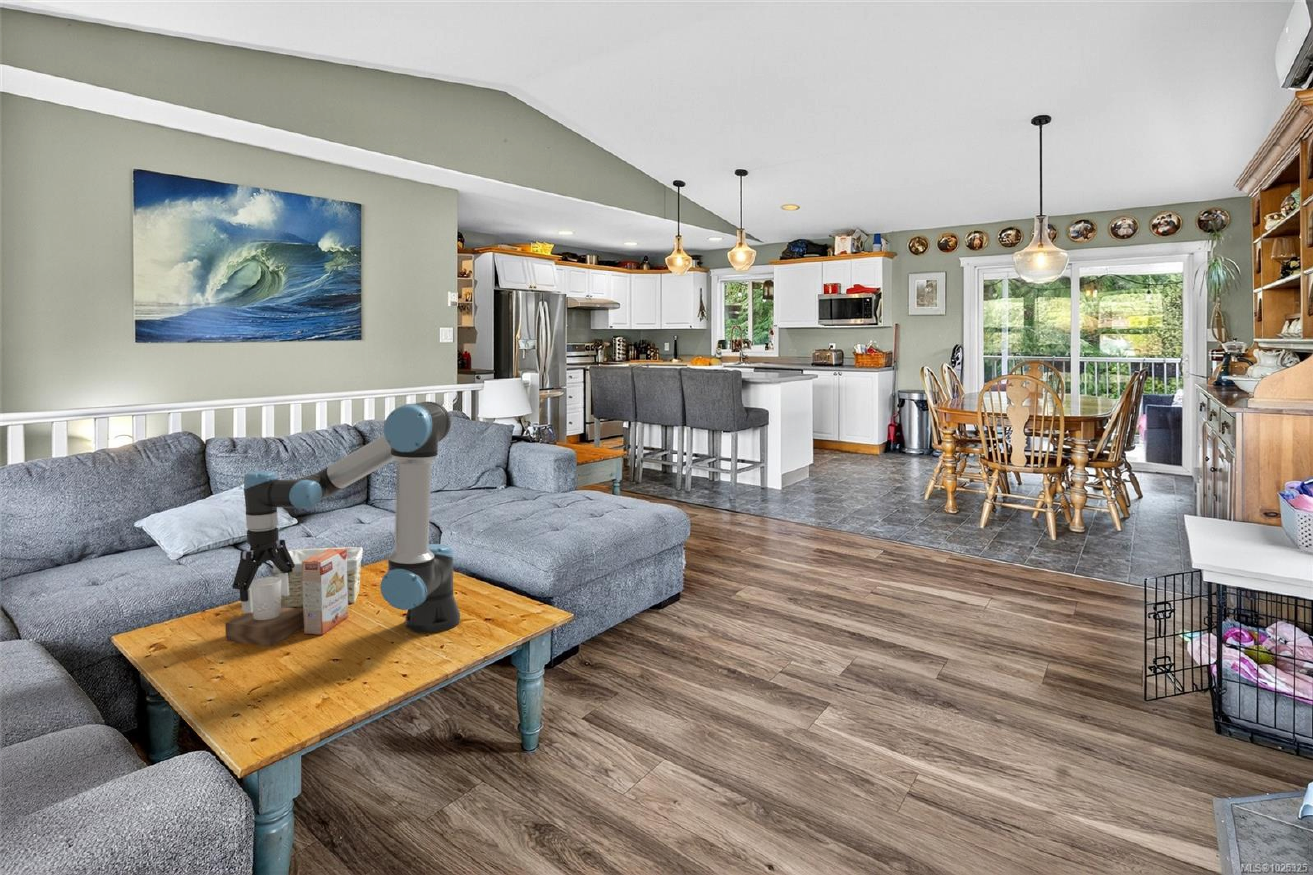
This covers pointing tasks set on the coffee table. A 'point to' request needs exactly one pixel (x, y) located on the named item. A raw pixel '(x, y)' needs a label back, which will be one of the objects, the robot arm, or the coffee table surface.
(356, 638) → the coffee table surface
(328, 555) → the cracker box
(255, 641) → the walnut block
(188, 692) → the coffee table surface
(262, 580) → the white cup
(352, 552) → the storage basket
